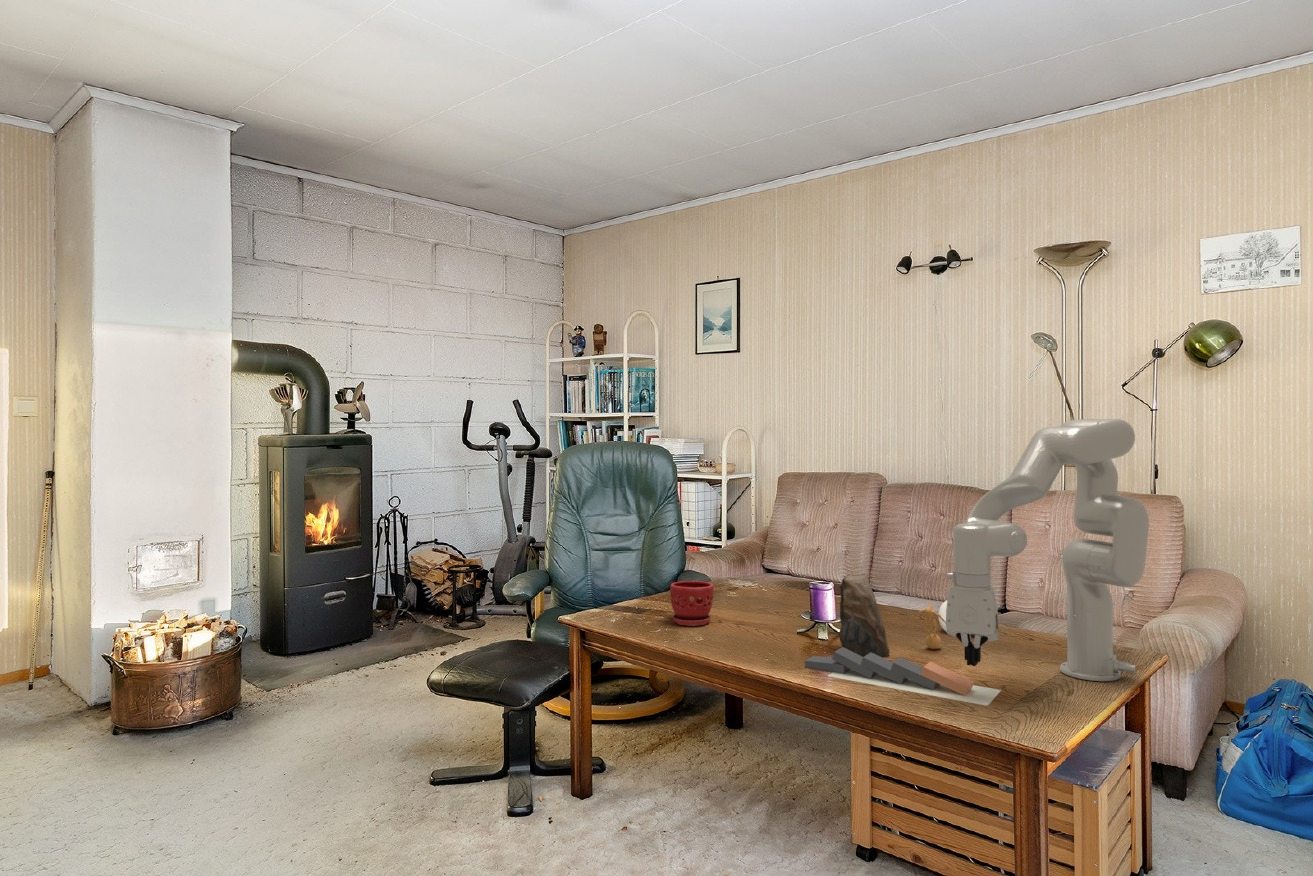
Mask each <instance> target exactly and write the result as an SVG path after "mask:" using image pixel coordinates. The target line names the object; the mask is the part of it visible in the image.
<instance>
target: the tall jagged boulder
mask: <svg viewBox="0 0 1313 876" xmlns="http://www.w3.org/2000/svg"><path fill="white" fill-rule="evenodd" d="M839 588H840V602H839V605H840V606H839V618H840V620H839V621H840V626H841V628H839V633H838V636H839V641H840V645H841V648H842V647H844V648H846V649H848V650H850V651H852V652H854V653H856V654H858V655H860V656H862V657H864V656H866V655H867V654H869V653H874V654H876V655H878V656H880V657H882V658H889V657H890V651H891V650H890V649H891V648H890V647H889V642H888V639H887V638H888V637H887V633H886V630H885V625H884V622H883V619H882V616H881V612H880V610H879V606H878V603H877V599H876V597H875V594H874V591H873V588H872V586H871V584H870V581H869V578H868V576H867V575H866V574H865V573H863V572H862V573H860V574H851V573H850V574H846V575H845V576H844V577H843V578H842V582H841V584H840V585H839Z"/></svg>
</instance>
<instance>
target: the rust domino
mask: <svg viewBox="0 0 1313 876" xmlns="http://www.w3.org/2000/svg"><path fill="white" fill-rule="evenodd" d="M922 667H923V670H922V673H921V675H922V676H924V677H926V678H928V679H930V680H932V681H934V682H937V683H939V684H941V685H943V686H945V687H947V688H949V689H951V690H954V691H956V692H958V693H960V694H962V695H964V696H966V695H967V694H968V693H969V692H970V691H971V690H972V687H973V685H974V683H975V681H974V680H971V679H969V678H967V677H966V676H963V675H961V674H958V673H956V672H954V671H953V670H950V669H948V668H946V667H943V666H941V665H939V664H937V663H935V662H933V661H929V662H928V663H927V664H925V665H924V666H922Z"/></svg>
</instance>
